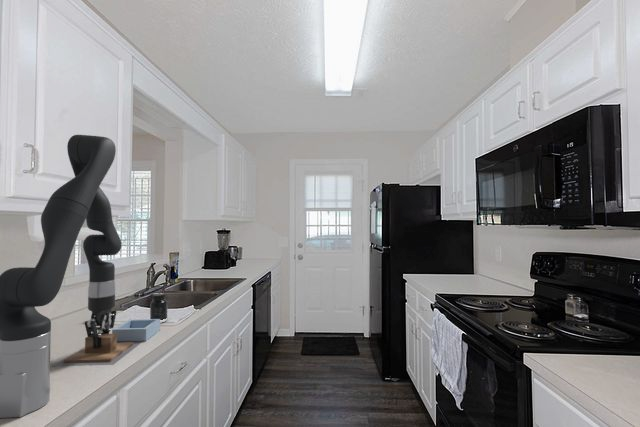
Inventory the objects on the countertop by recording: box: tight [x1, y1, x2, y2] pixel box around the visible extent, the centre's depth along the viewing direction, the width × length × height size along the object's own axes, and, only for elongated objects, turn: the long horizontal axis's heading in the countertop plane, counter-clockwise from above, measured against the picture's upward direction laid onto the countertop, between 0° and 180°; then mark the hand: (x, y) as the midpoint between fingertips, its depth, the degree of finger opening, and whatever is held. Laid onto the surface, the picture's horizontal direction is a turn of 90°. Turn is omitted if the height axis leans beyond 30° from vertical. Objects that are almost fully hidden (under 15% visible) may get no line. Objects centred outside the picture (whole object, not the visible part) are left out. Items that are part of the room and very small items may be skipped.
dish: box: [111, 318, 161, 343], centre depth 124 cm, size 12×12×5 cm
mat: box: [52, 342, 142, 367], centre depth 107 cm, size 18×18×1 cm
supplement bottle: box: [149, 293, 168, 320], centre depth 143 cm, size 7×7×12 cm
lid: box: [64, 333, 134, 363], centre depth 107 cm, size 14×14×6 cm
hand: (101, 345), depth 107 cm, fingers open, 3 cm apart
